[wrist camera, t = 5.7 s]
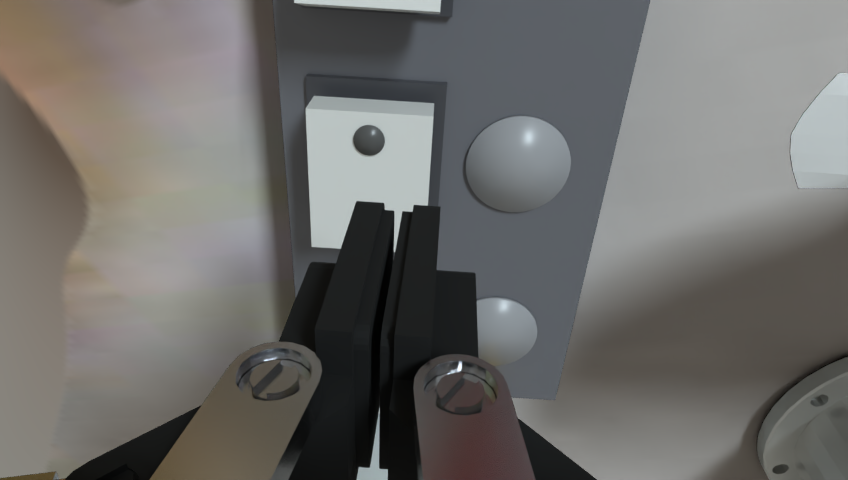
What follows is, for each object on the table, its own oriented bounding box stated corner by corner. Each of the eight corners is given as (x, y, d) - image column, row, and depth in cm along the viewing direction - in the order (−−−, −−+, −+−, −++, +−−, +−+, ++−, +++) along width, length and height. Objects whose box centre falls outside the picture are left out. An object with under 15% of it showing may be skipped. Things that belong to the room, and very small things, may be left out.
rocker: (425, 234, 22) (424, 255, 21) (318, 228, 22) (311, 248, 21) (434, 103, 20) (433, 117, 19) (314, 95, 20) (304, 109, 19)
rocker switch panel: (528, 427, 35) (537, 490, 31) (320, 414, 35) (306, 476, 31) (667, -229, 19) (717, -250, 15) (282, -253, 19) (244, -278, 15)
